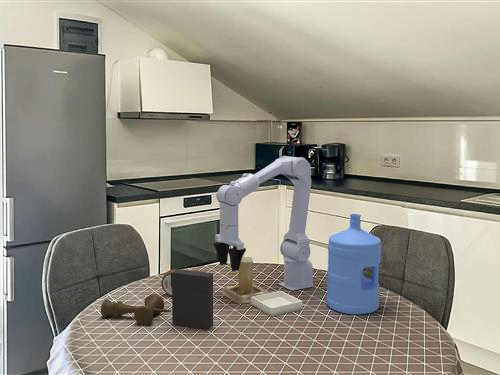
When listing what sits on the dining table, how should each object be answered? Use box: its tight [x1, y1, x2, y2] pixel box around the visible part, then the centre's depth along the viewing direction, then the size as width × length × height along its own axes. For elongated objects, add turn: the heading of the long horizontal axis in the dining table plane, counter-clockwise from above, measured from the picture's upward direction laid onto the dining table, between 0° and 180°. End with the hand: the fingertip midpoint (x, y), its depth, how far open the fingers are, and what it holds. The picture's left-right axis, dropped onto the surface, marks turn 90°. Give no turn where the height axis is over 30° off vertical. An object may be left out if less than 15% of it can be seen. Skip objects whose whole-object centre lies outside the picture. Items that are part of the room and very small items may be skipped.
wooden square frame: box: [221, 283, 270, 305], centre depth 160 cm, size 11×11×2 cm
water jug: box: [326, 213, 382, 315], centre depth 150 cm, size 16×16×28 cm
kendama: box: [100, 293, 172, 326], centre depth 141 cm, size 6×10×20 cm
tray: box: [250, 290, 304, 318], centre depth 150 cm, size 11×11×2 cm
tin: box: [160, 268, 202, 297], centre depth 159 cm, size 15×3×8 cm, turn 84°
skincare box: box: [237, 256, 254, 296], centre depth 159 cm, size 6×4×12 cm
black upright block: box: [171, 268, 214, 331], centre depth 135 cm, size 11×4×15 cm, turn 71°
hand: (229, 267), depth 155 cm, fingers open, 7 cm apart
